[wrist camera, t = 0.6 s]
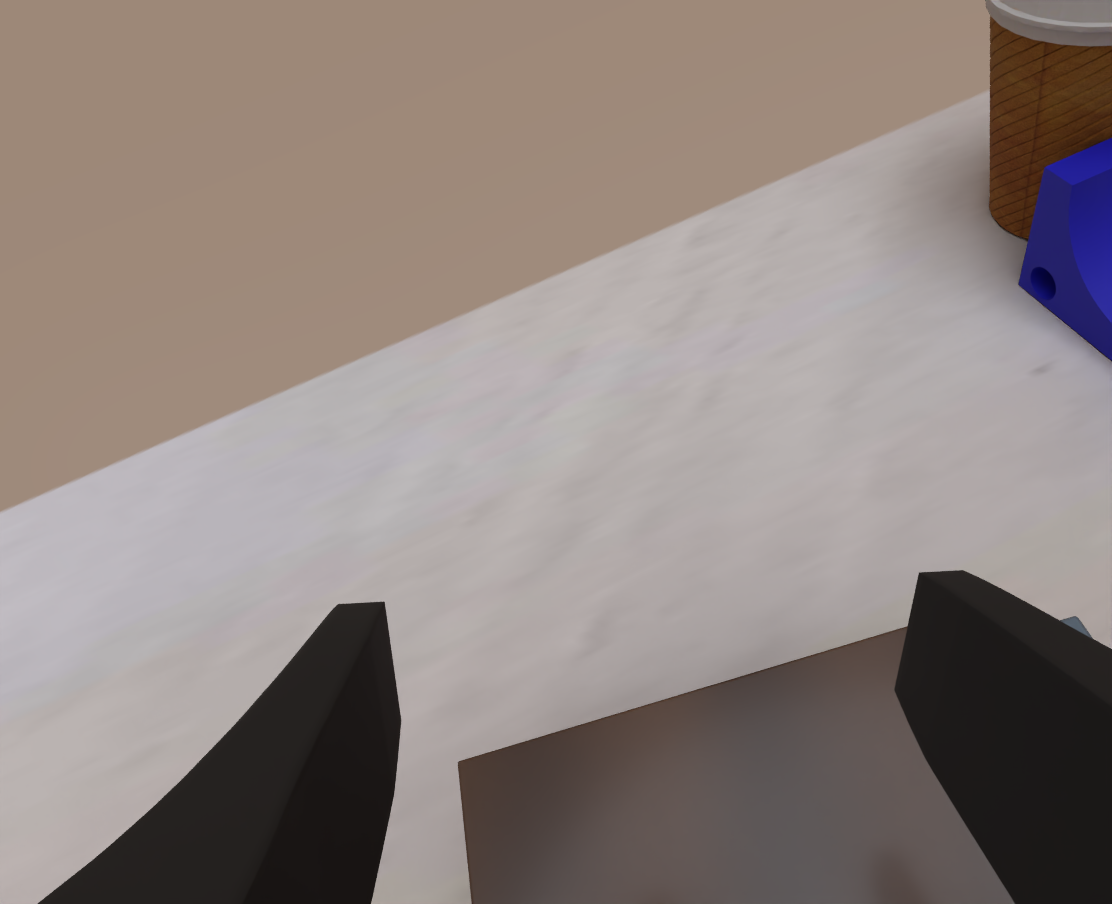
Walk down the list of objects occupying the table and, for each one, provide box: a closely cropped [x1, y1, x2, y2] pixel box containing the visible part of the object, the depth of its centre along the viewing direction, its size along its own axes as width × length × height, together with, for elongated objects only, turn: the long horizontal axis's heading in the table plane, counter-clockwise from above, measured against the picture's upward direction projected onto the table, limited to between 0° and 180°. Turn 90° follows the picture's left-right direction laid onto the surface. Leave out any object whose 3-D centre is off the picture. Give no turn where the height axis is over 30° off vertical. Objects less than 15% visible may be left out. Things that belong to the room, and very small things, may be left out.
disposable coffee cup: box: [985, 0, 1112, 239], centre depth 32 cm, size 10×10×12 cm
